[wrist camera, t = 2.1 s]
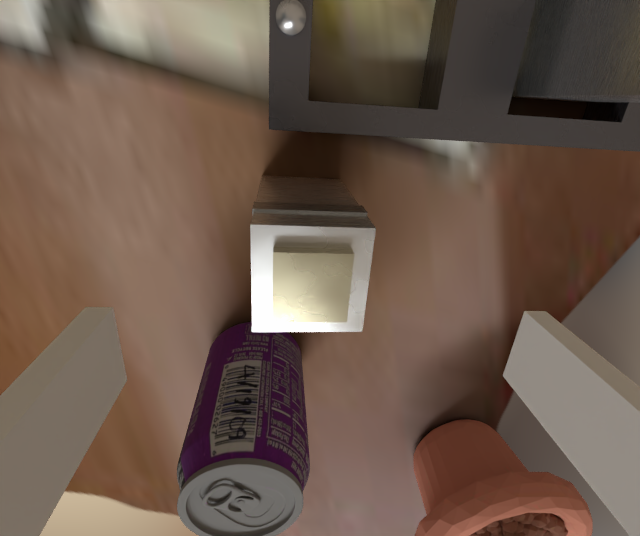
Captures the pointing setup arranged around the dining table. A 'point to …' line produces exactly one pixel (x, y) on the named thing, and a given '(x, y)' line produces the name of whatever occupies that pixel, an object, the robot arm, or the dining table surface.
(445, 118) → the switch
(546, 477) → the decorative flower
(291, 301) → the block
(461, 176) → the dining table surface
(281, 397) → the beverage can
